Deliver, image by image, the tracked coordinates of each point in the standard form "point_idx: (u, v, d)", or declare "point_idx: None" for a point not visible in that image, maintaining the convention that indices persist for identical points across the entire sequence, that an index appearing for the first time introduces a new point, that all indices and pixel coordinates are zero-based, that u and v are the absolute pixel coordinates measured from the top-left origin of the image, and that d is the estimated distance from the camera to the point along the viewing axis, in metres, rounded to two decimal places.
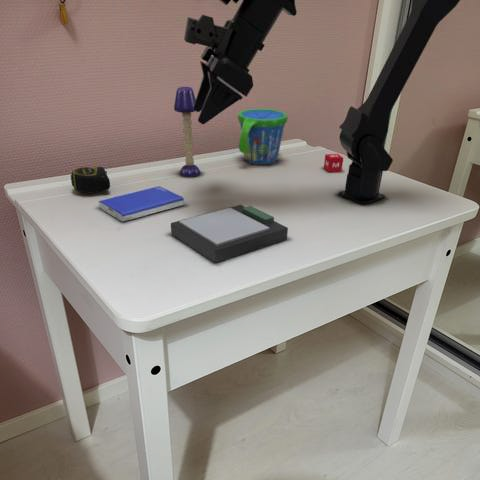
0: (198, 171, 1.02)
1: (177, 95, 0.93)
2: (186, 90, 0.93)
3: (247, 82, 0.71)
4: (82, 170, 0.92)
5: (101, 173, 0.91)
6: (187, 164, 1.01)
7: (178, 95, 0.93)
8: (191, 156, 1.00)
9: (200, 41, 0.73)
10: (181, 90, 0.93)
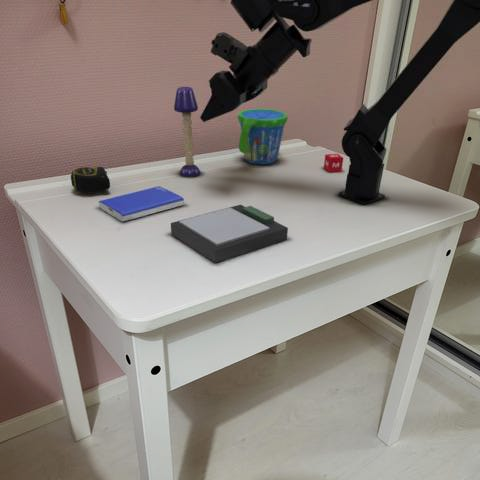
0: (198, 171, 1.02)
1: (177, 95, 0.93)
2: (186, 90, 0.93)
3: (234, 98, 0.83)
4: (82, 170, 0.92)
5: (101, 173, 0.91)
6: (187, 164, 1.01)
7: (178, 95, 0.93)
8: (191, 156, 1.00)
9: (220, 54, 0.86)
10: (181, 90, 0.93)
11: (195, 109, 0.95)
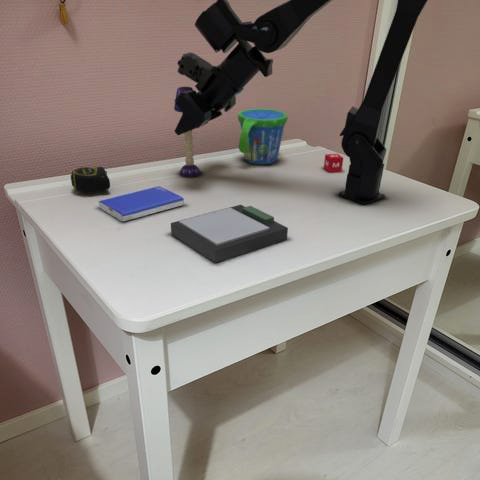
0: (198, 171, 1.02)
1: (177, 95, 0.93)
2: (186, 90, 0.93)
3: (198, 117, 0.86)
4: (82, 170, 0.92)
5: (101, 173, 0.91)
6: (187, 164, 1.01)
7: (178, 95, 0.93)
8: (191, 156, 1.00)
9: None
10: (181, 90, 0.93)
11: None
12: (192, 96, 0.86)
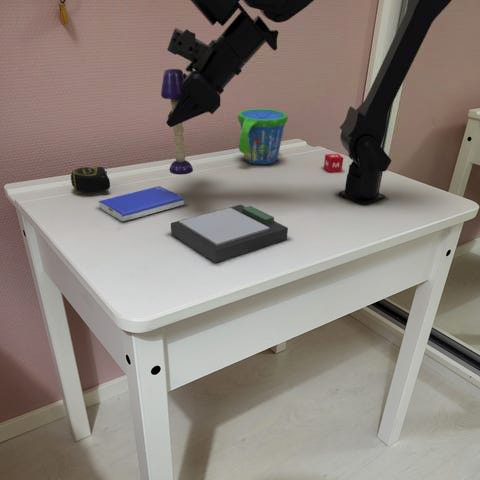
0: (191, 167, 0.89)
1: (167, 79, 0.79)
2: (178, 72, 0.79)
3: (214, 101, 0.74)
4: (82, 170, 0.92)
5: (101, 173, 0.91)
6: (179, 160, 0.88)
7: (169, 79, 0.79)
8: (183, 150, 0.87)
9: (181, 53, 0.77)
10: (172, 73, 0.79)
11: None
12: (203, 77, 0.74)
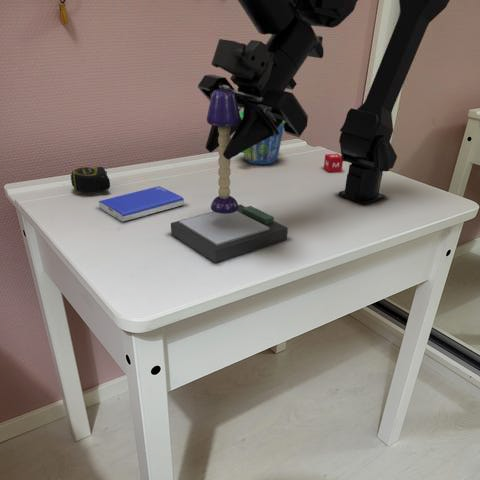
0: None
1: (224, 103, 0.64)
2: (233, 93, 0.65)
3: (305, 122, 0.64)
4: (82, 170, 0.92)
5: (101, 173, 0.91)
6: (225, 196, 0.73)
7: (226, 102, 0.64)
8: (229, 184, 0.73)
9: (243, 69, 0.63)
10: (229, 94, 0.64)
11: None
12: None
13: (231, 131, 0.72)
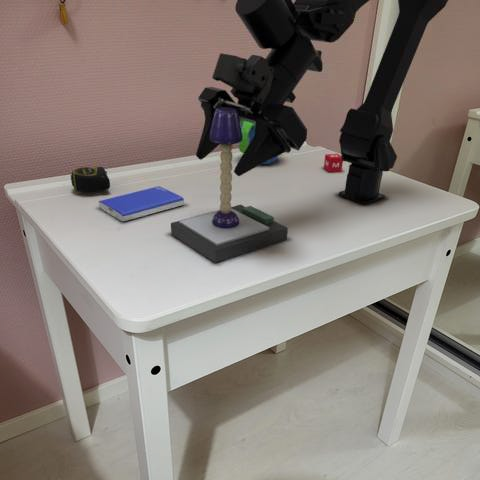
0: None
1: (227, 121, 0.65)
2: (236, 112, 0.66)
3: (305, 135, 0.65)
4: (82, 170, 0.92)
5: (101, 173, 0.91)
6: (227, 211, 0.74)
7: (228, 121, 0.66)
8: (230, 199, 0.74)
9: (244, 83, 0.64)
10: (232, 113, 0.65)
11: None
12: None
13: None
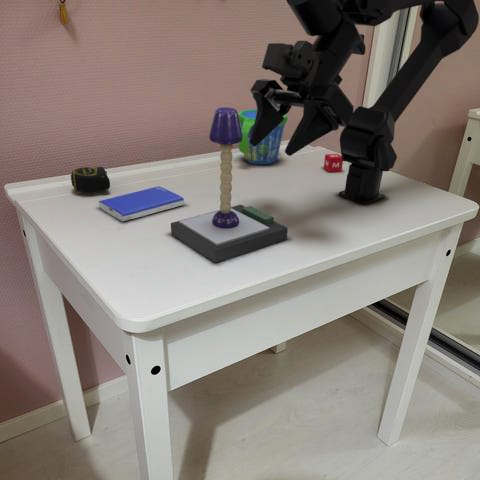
0: None
1: (227, 121, 0.65)
2: (236, 112, 0.66)
3: (351, 112, 0.68)
4: (82, 170, 0.92)
5: (101, 173, 0.91)
6: (227, 211, 0.74)
7: (228, 121, 0.66)
8: (230, 199, 0.74)
9: (291, 68, 0.68)
10: (232, 113, 0.65)
11: None
12: None
13: (273, 126, 0.79)
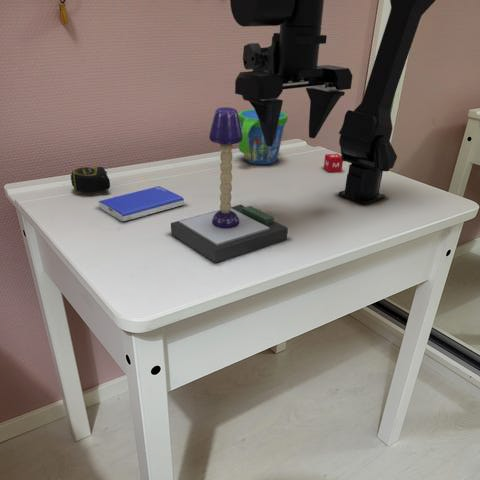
0: None
1: (227, 121, 0.65)
2: (236, 112, 0.66)
3: (256, 84, 0.65)
4: (82, 170, 0.92)
5: (101, 173, 0.91)
6: (227, 211, 0.74)
7: (228, 121, 0.66)
8: (230, 199, 0.74)
9: (259, 70, 0.73)
10: (232, 113, 0.65)
11: None
12: (248, 72, 0.67)
13: (324, 109, 0.75)
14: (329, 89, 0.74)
